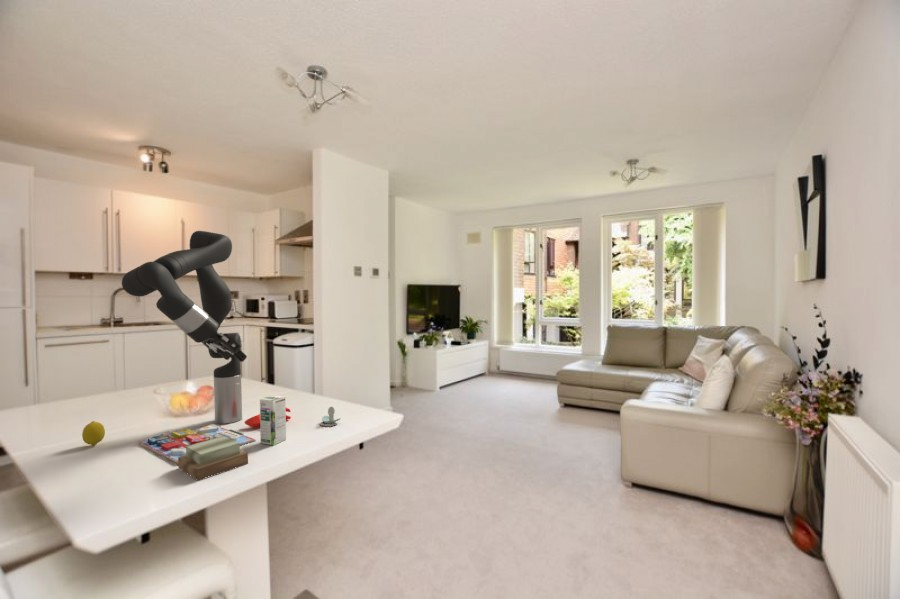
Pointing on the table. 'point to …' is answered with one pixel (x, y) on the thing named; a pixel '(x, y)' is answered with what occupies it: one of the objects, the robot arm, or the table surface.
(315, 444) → the table surface
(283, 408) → the syrup box
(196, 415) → the table surface
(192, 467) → the plinth
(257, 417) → the animal figurine
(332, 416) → the pacifier
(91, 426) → the lemon
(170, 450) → the puzzle board
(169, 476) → the table surface
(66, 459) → the table surface
